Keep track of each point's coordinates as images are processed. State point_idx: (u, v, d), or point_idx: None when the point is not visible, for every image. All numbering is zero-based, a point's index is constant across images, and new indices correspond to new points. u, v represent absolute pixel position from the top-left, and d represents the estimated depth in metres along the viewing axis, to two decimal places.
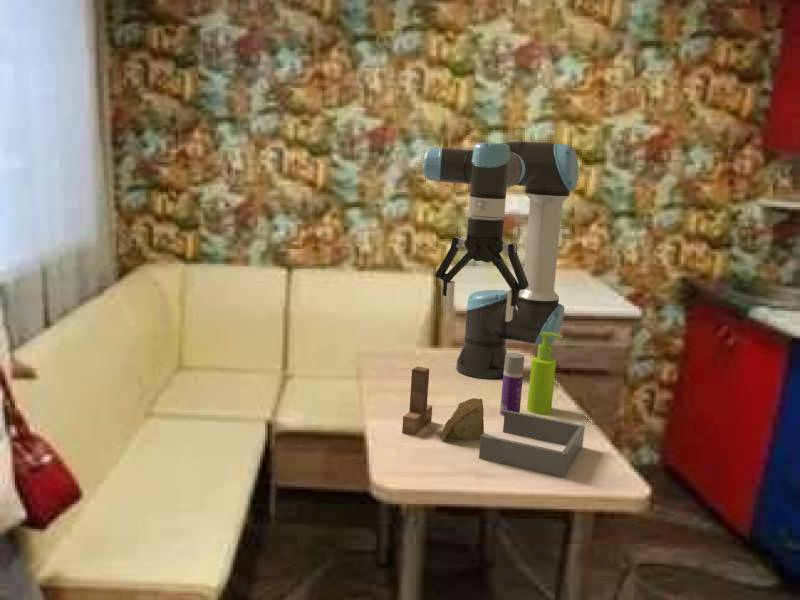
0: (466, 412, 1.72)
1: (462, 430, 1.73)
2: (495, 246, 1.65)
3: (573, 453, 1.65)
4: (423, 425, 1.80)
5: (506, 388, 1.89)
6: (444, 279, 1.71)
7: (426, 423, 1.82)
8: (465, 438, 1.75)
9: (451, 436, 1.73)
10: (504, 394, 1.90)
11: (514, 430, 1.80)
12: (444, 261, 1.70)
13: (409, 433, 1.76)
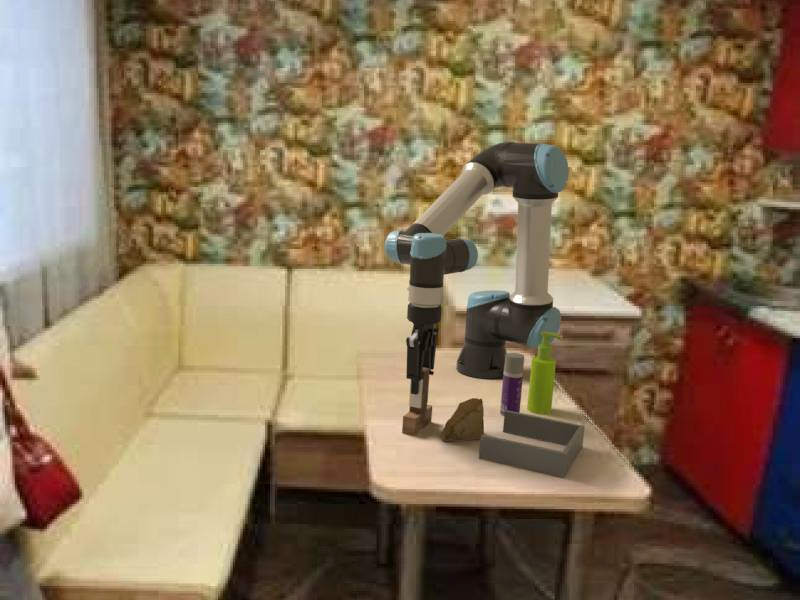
0: (466, 411, 1.72)
1: (462, 430, 1.73)
2: None
3: (573, 453, 1.65)
4: (422, 425, 1.80)
5: (506, 388, 1.89)
6: None
7: (426, 423, 1.82)
8: (465, 438, 1.75)
9: (451, 436, 1.73)
10: (504, 394, 1.90)
11: (514, 430, 1.80)
12: None
13: (409, 433, 1.76)
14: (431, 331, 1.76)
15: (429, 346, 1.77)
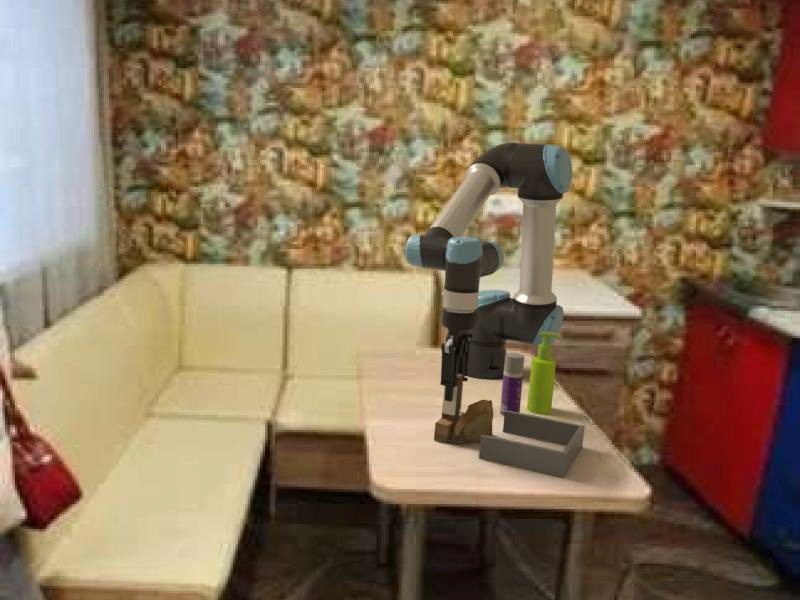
0: (476, 413, 1.71)
1: (472, 431, 1.73)
2: None
3: (573, 453, 1.65)
4: None
5: (506, 388, 1.89)
6: None
7: None
8: (475, 440, 1.74)
9: (461, 438, 1.72)
10: (504, 394, 1.90)
11: (514, 430, 1.80)
12: None
13: (441, 440, 1.73)
14: (466, 337, 1.73)
15: (463, 352, 1.74)
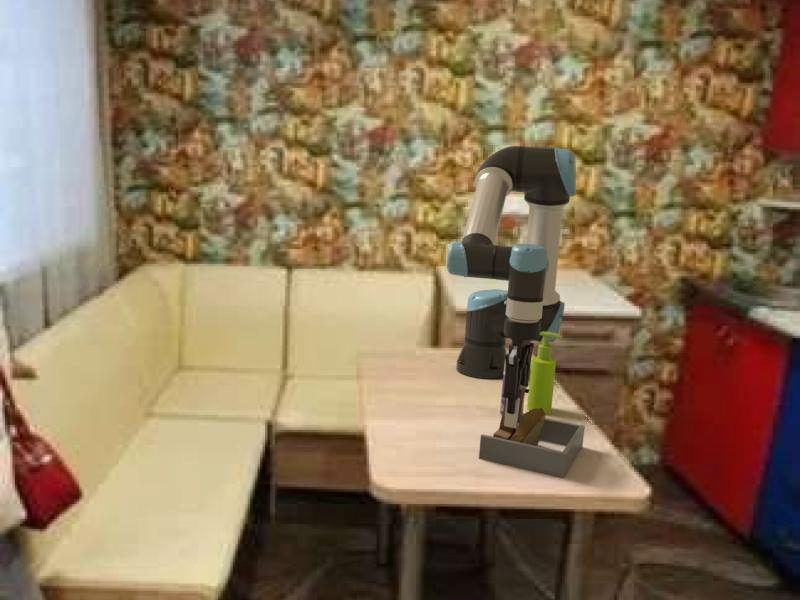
0: (532, 424, 1.67)
1: (526, 442, 1.68)
2: None
3: (573, 453, 1.65)
4: None
5: None
6: None
7: None
8: None
9: None
10: None
11: None
12: None
13: None
14: (529, 347, 1.67)
15: (526, 363, 1.68)
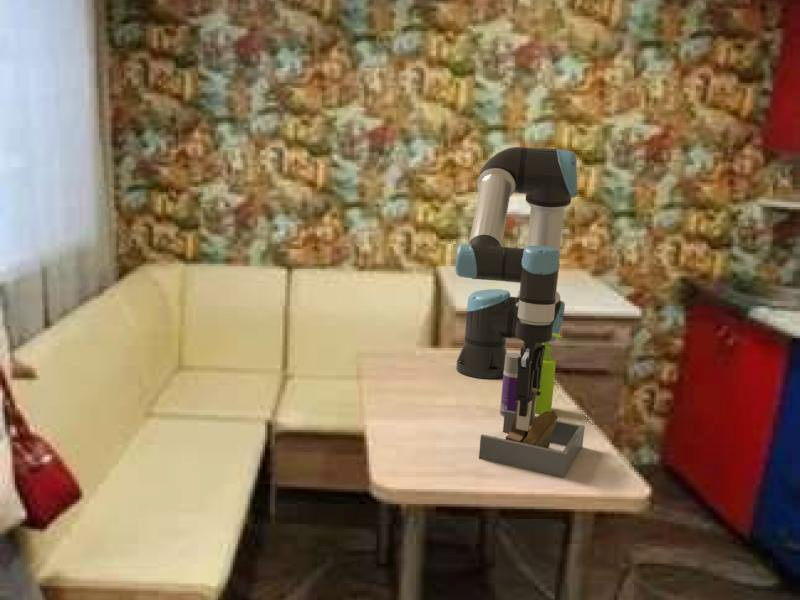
0: (544, 427, 1.66)
1: None
2: None
3: (573, 453, 1.65)
4: None
5: (506, 388, 1.89)
6: None
7: None
8: None
9: None
10: (504, 394, 1.90)
11: None
12: None
13: None
14: (541, 349, 1.66)
15: (538, 365, 1.67)
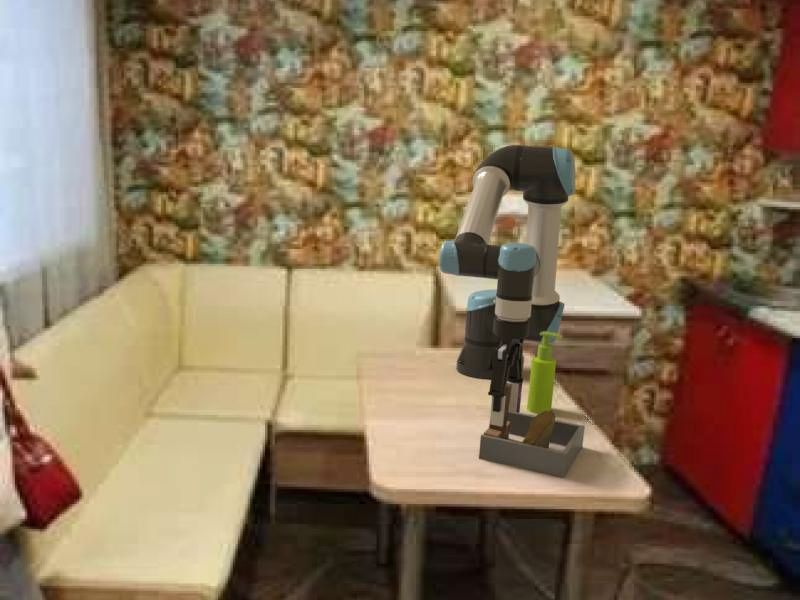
0: (543, 426, 1.66)
1: None
2: None
3: (573, 453, 1.65)
4: None
5: None
6: None
7: None
8: None
9: None
10: None
11: (514, 430, 1.80)
12: None
13: None
14: (518, 347, 1.68)
15: (517, 359, 1.70)
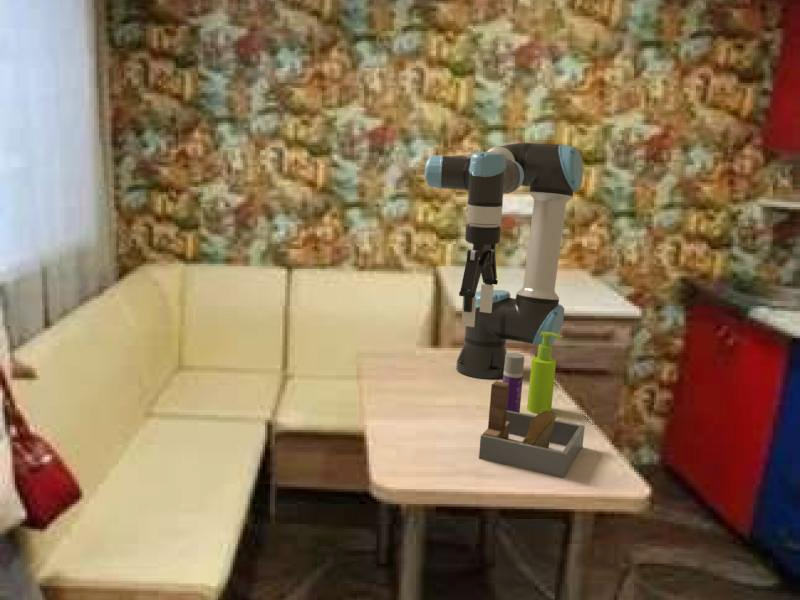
0: (543, 426, 1.66)
1: None
2: None
3: (573, 453, 1.65)
4: None
5: None
6: None
7: None
8: None
9: None
10: None
11: (514, 430, 1.80)
12: None
13: None
14: (489, 254, 1.73)
15: (490, 265, 1.76)
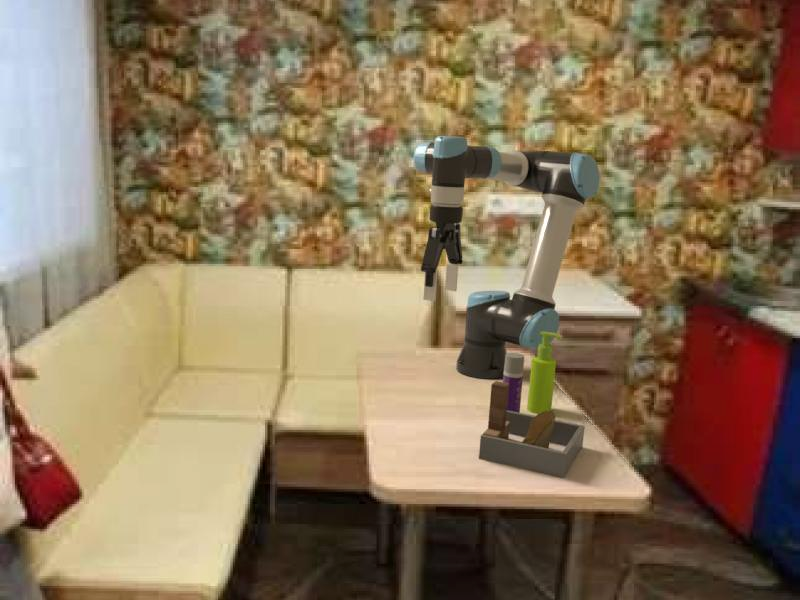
0: (543, 426, 1.66)
1: None
2: None
3: (573, 453, 1.65)
4: None
5: None
6: None
7: None
8: None
9: None
10: None
11: (514, 430, 1.80)
12: None
13: None
14: (452, 233, 1.82)
15: (453, 244, 1.85)
